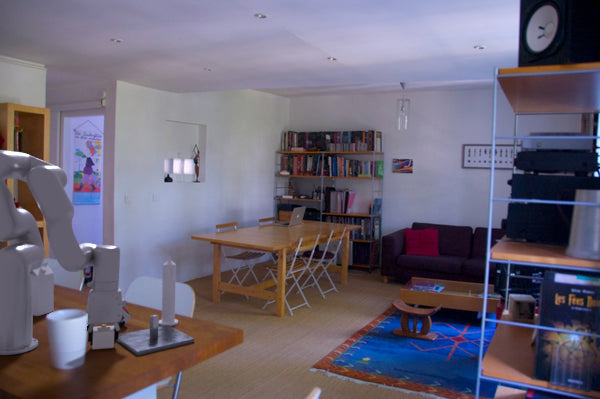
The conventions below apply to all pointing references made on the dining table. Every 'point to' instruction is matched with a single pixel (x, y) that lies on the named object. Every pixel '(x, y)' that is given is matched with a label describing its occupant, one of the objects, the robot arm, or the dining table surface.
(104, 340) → the white cube box
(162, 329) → the hub plate
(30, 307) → the robot arm
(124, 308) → the onion
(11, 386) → the dining table surface
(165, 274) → the candle
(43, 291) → the milk carton
